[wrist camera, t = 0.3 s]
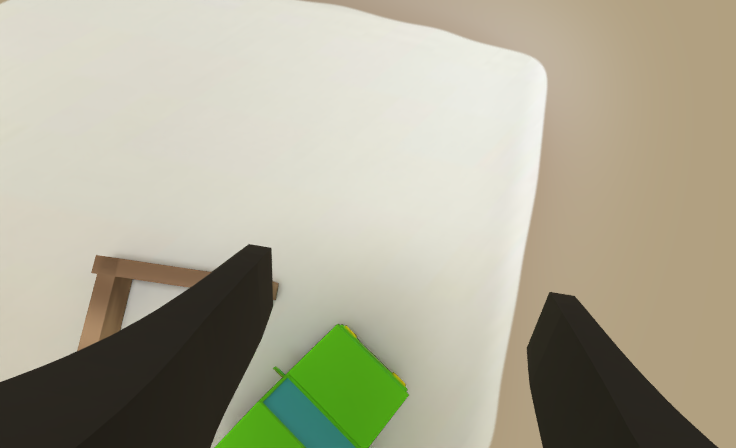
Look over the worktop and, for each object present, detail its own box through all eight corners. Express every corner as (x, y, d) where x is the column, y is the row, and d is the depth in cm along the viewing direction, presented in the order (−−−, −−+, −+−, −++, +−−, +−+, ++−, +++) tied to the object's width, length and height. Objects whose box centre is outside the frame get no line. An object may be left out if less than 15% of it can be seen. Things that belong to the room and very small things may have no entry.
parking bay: (234, 527, 37) (223, 545, 34) (54, 499, 37) (27, 515, 34) (278, 283, 41) (272, 281, 38) (114, 259, 41) (96, 255, 38)
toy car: (416, 392, 40) (435, 419, 30) (308, 515, 38) (290, 586, 28) (332, 310, 41) (324, 309, 31) (223, 424, 39) (177, 462, 29)
